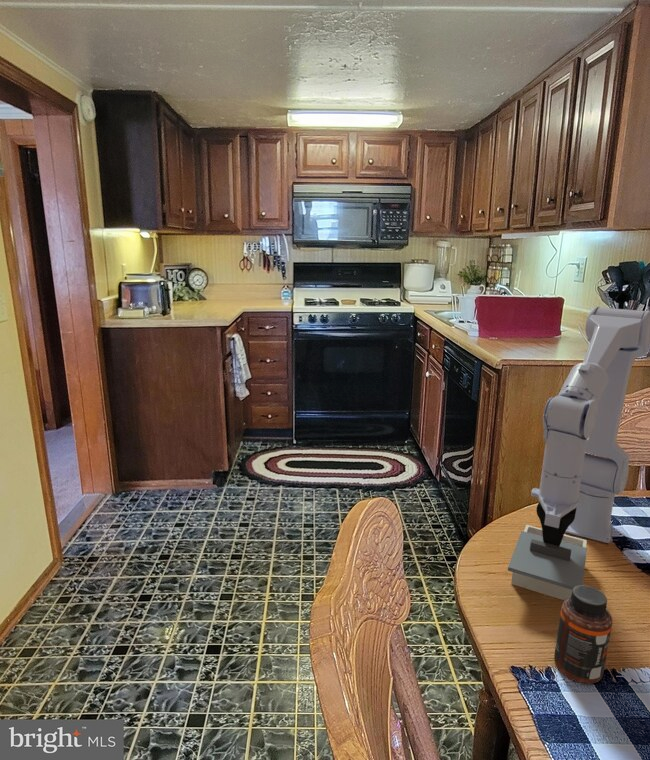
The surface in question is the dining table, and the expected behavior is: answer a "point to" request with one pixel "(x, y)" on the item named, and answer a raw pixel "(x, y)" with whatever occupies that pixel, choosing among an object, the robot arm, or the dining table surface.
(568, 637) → the supplement bottle
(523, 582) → the box
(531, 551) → the lid
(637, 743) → the dining table surface
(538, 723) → the dining table surface
